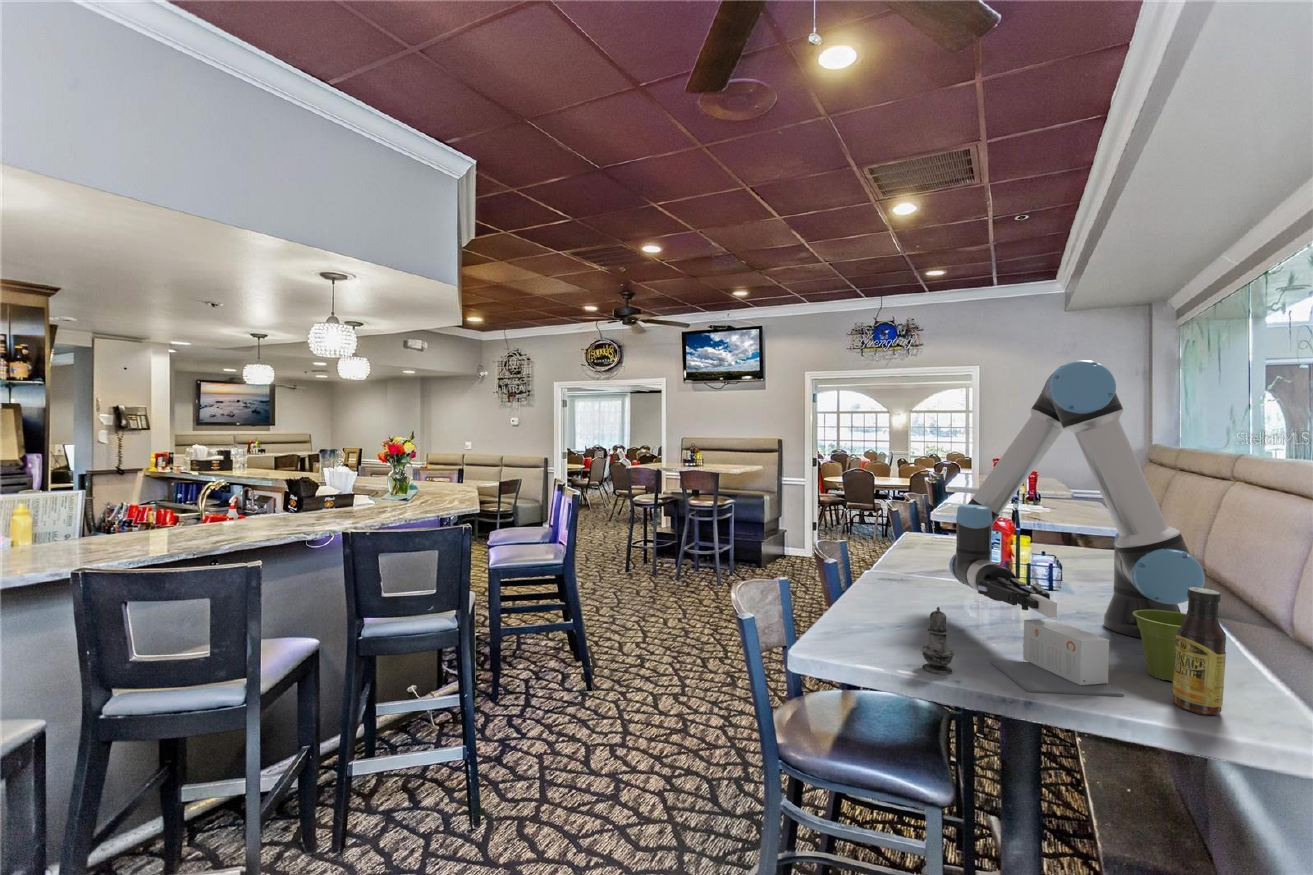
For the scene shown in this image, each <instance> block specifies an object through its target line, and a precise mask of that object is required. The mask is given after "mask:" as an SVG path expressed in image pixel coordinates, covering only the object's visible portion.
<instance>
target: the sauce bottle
mask: <svg viewBox="0 0 1313 875" xmlns="http://www.w3.org/2000/svg"><path fill="white" fill-rule="evenodd" d="M1187 596H1188V598H1189V600H1188V601H1187V602H1188V603H1187V610H1186V613H1185V614H1186V616H1185V618H1184V620H1183V622H1182V624H1181V626H1180V629H1179V631H1178V633H1177V635H1176V646H1175V660H1174V676H1173V682H1172V701H1173V703H1174V704H1175V705H1176V706H1177V707H1180V709H1184V710H1187V711H1189V712H1191V713H1194V714H1198V715H1206V716H1216V715H1217V716H1218V715H1219V714H1220V713H1221V712H1222V706H1223V702H1224V700H1223V699H1224V688H1225V686H1224V684H1225V672H1226V670H1225V669H1226V659H1227V658H1226V656H1227V655H1226V654H1227V651H1226V644H1227V636H1226V635H1227V634H1226V632H1225V631H1224V629H1223V628H1222V626H1221V625H1220V624H1221V623H1219V617H1220V616H1219V615H1218V613H1219V603H1220V602H1221V592H1219V591H1217V590H1214V589H1210V588H1204V587H1203V588H1197V587H1191V588H1188V592H1187Z"/></svg>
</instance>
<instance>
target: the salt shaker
mask: <svg viewBox="0 0 1313 875" xmlns="http://www.w3.org/2000/svg"><path fill="white" fill-rule="evenodd" d="M927 631H928V635H929V636H928V643H927V645H923V646H921V647H920V651H922V654H921V655H922V656H923V659H924V660H925V661H926V663H924V664H922V666H921V668H922V669H923V670H924V671H926V672H928V673H931V674H935V675H943V676H947V675H951V674H953V672H954V671H953V669H952V668H950V667H949V666H948V665H950V663H951V662H952V660H953V658H954V656H955V651H954V650H953V649H950V648H948V643H947V637H948V636H947V634H949V631H948V630H947V615H946V613H944V612H942V611H941V608H940V606H937V607H936V609H935V611H931V612H930V614H929V627H928V628H927Z"/></svg>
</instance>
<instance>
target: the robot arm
mask: <svg viewBox="0 0 1313 875" xmlns="http://www.w3.org/2000/svg"><path fill="white" fill-rule="evenodd" d="M1116 391H1117V383H1116V379H1115V377H1114V375H1113V374H1112V371H1110V369H1108V368H1107V367H1106V366H1104V365H1103V364H1101V363H1099V362H1096V361H1093V360H1085V359H1084V360H1083V359H1082V360H1074V361H1070V362H1069V361H1068V362H1067V363H1065V364H1064V365H1060V366H1059V367H1058V368H1057V369H1056V370H1055V371H1053V373H1052V374H1051V375H1050V376H1049V377H1048V378H1047V380H1046V381H1045V384H1044V386H1043V387H1042V390H1041V393H1040V394H1039V396H1038V398H1037V399H1036V401H1035V403H1034V404H1033V406H1031V408H1030V409H1029V410H1030V414H1031V416H1030V417H1029V418H1028V420H1027V421H1026V422H1025V424H1024V425H1023V426H1022V428H1021V429H1020V430H1019V432H1018V433H1017V435H1016V436H1015V438H1014V439H1013V441H1012V442H1011V443H1010V445H1009V446H1008V448H1007V449H1006V450H1005V452H1004V453H1003V455H1001V457H1000V458H999V460H998V461H997V463H996V464H995V465H994V467H993V468H992V469H991V471H990V472H989V474H988V475H987V476H986V478H985V479H984V481H983V482H982V484H980V486H979V488H978V489H977V490H976V492H975V493H974V494H973V496H972V497H971V499H970V500H969V501H968V503H967V504H961V505H960V504H959V505H958V506H957V508H956V509H957V510H956V517H955V520H956V531H955V532H956V538H955V539H956V547H955V554H954V555H953V556H952V557H951V558H950V561H949V563H948V564H949V566H948V567H949V571H950V573H951V575H952V576H953V577H954V578H955V579H956V580H957V581H958V582H960V583H961V584H963V585H965V586H968V587H970V588H972V589H973V590H975V591H977V594H979V595H983V596H984V597H986V598H989V599H991V600H993V601H995V602H1004V603H1006V604H1009V605H1011V606H1018V605H1020V606H1021V610H1022V611H1029V609H1032V610H1033V611H1036V612H1037V613H1039V614H1041V615H1043V616H1045V617H1047V618H1058V615H1057V614H1058V603H1057V602H1055V601H1054V600H1051V595H1050V594H1051V593H1049V592H1048V591H1047V590H1046V589H1044V588H1043V587H1041V583H1039V582H1036V583H1031V584H1030V585H1027V584H1026V583H1025V582H1024V581H1021V580H1019V579H1017V577H1016V575H1015V573H1013V571H1012V570H1011V569H1010V568H1009V569H1008V568H1006V567H1004V566H1002V565H1000V564H998V563H996V562H993V561H992V537H993V535H992V531H993V528H992V527H993V526H994V523H995V522H996V521H997V520H998V519H999V517H1000V515H1001V514H1002V513H1003V511H1004V510H1005V508H1007V506H1008V505H1009V503H1010V502H1011V501H1012V500H1013V498H1014V497H1015V495H1016V494H1017V493H1018V491H1019V490H1020V488H1022V486H1023V484H1024V483H1025V482H1026V481H1027V479H1028V478H1029V476H1030V475H1031V474H1032V473H1033V471H1034V470H1035V469H1036V468H1037V466H1038V465H1039V464H1040V462H1041V461H1042V459H1043V458H1044V457H1045V455H1046V454H1047V453H1048V451H1049V450H1050V449H1051V447H1052V446H1053V445H1054V443H1055V442H1056V441H1057V440H1058V438H1059V436H1060V435H1061V434H1062V433H1063V432H1065V431H1069V432H1071V433H1073V434H1074V436H1075V439H1076V440H1077V443H1078V446H1079V447H1080V450H1081V452H1082V454H1083V456H1084V459H1085V461H1086V463H1087V465H1088V468H1089V470H1090V472H1091V474H1092V477H1093V479H1094V481H1095V483H1096V486H1097V488H1098V490H1099V492H1100V494H1101V497H1102V499H1103V501H1104V503H1105V505H1106V508H1107V510H1108V513H1109V514H1110V517H1111V521H1113V524H1114V527H1115V528H1116V530H1117V533H1116V534H1115V535H1114V542H1113V548H1114V552H1113V553H1114V558H1113V563H1114V564H1113V594H1112V597H1111V599H1110V601H1109V603H1108V606H1107V607H1106V608H1107V609H1106V611H1105V613H1104V616H1103V626H1104V627H1105V628H1107V629H1109V630H1111V631H1113V632H1115V633H1119V634H1122V635H1125V636H1129V637H1133V636H1134V638H1139V639H1142V638H1141V633H1140V629H1139V628H1138V624H1137V619H1136V617H1135V616H1134V615H1133V612H1134V611H1137V610H1163V611H1172V612H1178V613H1182V612H1181V609H1180V607H1179V606H1180V605H1179V604H1183V603H1184V604H1185V603H1186V602H1188V600H1189V598H1188V596H1187V592H1188V588H1191V587H1197V588H1204V586H1205V581H1206V580H1205V579H1206V575H1205V571H1204V568H1203V566H1202V564H1201V563H1199V562H1198V560H1197V559H1196V558H1195V557H1194V556H1193V555H1191V553H1190V550H1189V548H1188V546H1187V544H1186V542H1185V539H1184V538H1183V536H1182V534H1181V531H1180V530H1179V529H1177V528H1174V527H1172V526H1170V525H1168V524H1167V521H1166V519H1165V517H1164V516H1163V512H1162V511H1161V509H1160V506H1159V504H1158V503H1157V502H1158V501H1157V500H1156V498H1155V495H1154V493H1153V491H1152V489H1151V487H1150V485H1149V483H1148V480H1147V478H1146V476H1145V474H1144V472H1143V469H1142V468H1141V465H1140V463H1139V461H1138V458H1137V457H1136V455H1135V452H1134V449H1133V447H1132V446H1131V443H1130V441H1129V439H1128V437H1127V434H1126V433H1125V429H1124V428H1123V426H1122V423H1121V422H1120V418H1121V416H1122V414H1123V412H1124V408H1123V405H1122V403H1121V401H1120V399H1119V397H1118V394H1117V393H1116Z"/></svg>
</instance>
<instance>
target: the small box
mask: <svg viewBox="0 0 1313 875" xmlns="http://www.w3.org/2000/svg"><path fill="white" fill-rule="evenodd" d="M1022 648H1023V649H1022V650H1023V651H1022V660H1023V661H1025V662H1030V663H1032V664H1034V665H1036V666H1038V667H1041V668H1043V669H1045V670H1047V671H1049V672H1052V673H1054V674H1056V675H1058V676H1060V677H1063V678H1065V679H1067V680H1069V681H1071V682H1073V683H1076V684H1078V685H1091V684H1104V683H1107V684H1109V670H1110V669H1109V667H1110V666H1109V665H1110V664H1109V662H1110V660H1109V659H1110V639H1107V638H1105V637H1102V636H1099V635H1096V634H1093V633H1092V632H1088V631H1086V630H1082V629H1080V628H1078V627H1074V626H1072V625H1069V624H1066V623H1063V622H1061V621H1060V622H1059V621H1057V620H1054V619H1052V618H1045V619H1043V618H1042V619H1038V618H1037V619H1024V620H1023V647H1022Z"/></svg>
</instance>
